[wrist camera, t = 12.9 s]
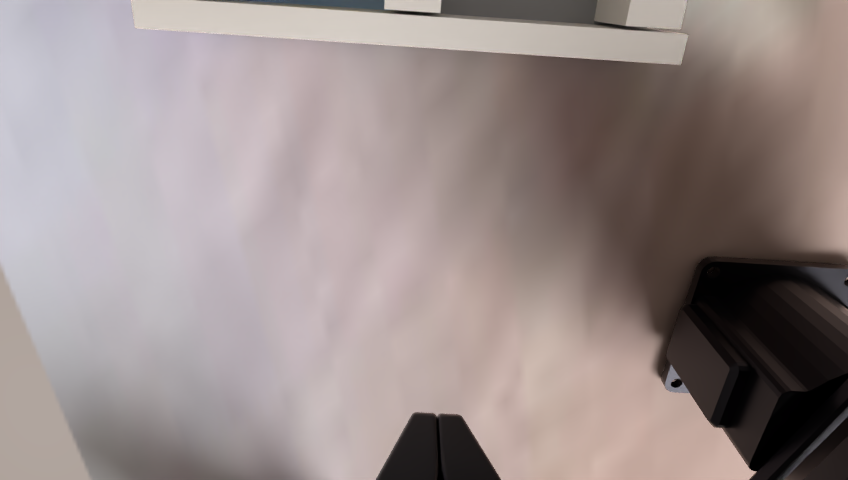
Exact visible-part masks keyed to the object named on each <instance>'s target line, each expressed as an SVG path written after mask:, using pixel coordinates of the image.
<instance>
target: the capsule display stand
mask: <svg viewBox="0 0 848 480" xmlns="http://www.w3.org/2000/svg"><path fill="white" fill-rule="evenodd" d="M687 2H688V0H131V6H132V12H133V19H134V25H135V28H139V29H153V30H168V31H183V32H198V33H213V34H227V35H242V36H257V37H272V38H287V39H301V40H316V41H331V42H346V43H361V44H376V45H390V46H405V47H420V48H435V49H450V50H464V51H479V52H494V53H509V54H524V55H538V56H553V57H568V58H583V59H598V60H612V61H627V62H642V63H657V64H672V65H681V62H682V59H683V55H684V51H685V47H686V43H687V39H688V35H689V34H684V33H677V32H670V31H663V30H657V29H650V28H664V29H678V30H681V26H682V22H683V18H684V14H685V10H686V6H687ZM647 27H649V28H647Z"/></svg>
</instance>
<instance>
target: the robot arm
mask: <svg viewBox="0 0 848 480" xmlns="http://www.w3.org/2000/svg"><path fill="white" fill-rule="evenodd" d="M712 267H715V269H714V271H713V272H711V273H707V272H708V270H709V269H710V268H712ZM847 277H848V265H841V264H824V263H808V262H791V261H775V260H758V259H742V258H725V257H707V258H705V259H702V260H701V261H700V262H699V263H698V265H697V267H696V270H695V273H694V276H693V279H692V282H691V286H690V289H689V292H688V295H687V298H686V301H685V304H684V306H683V307H682V308H681V309H680V312H679V315H678V318H677V321H676V324H675V328H674V331H673V334H672V337H671V340H670V343H669V347H668V350H667V353H666V357H667V361H666V364H665V368H664V371H663V374H662V378H661V380H662V382H663V384H664V386H665V387H666V389H667V390H668V391H671V392H679V393H690V394H691V395H692V397H693V398H694V400H695V402H696V403H697V405H698V406H699V408H700V409H701V411H702V412H703V414H704V415H705V417H706V418H707V420H708V421H709V422H710V423H711V425H712V426H713V427H717V428H722V429H723V430H724V431H725V433H726V434H727V436H728V437H729V439H730V440H731V442H732V443H733V445H734V446H735V448H736V449H737V451H738V452H739V454H740V455H741V457H742V458H743V459H744V461H745V462H746V464H747V465H748V467H749V468H750V469H751V470H753V471H757V472H756V473H755V474H754V475H753V476H752V477H751V478H750V479H749V480H848V279H847V280H846V281H845V279H846V278H847ZM674 379H677V380H676V381H674V382H672V380H674ZM376 480H501V479H500V477H499V476H498V474H497V472H496V471H495V469H494V467H493V466H492V464H491V463H490V461H489V459H488V458H487V456H486V455H485V453H484V451H483V450H482V448H481V446H480V445H479V443H478V442H477V440H476V438H475V437H474V435H473V434H472V432H471V430H470V429H469V427H468V425H467V424H466V422H465V421H464V419H463V418H462V416H460V415H458V414H439V415H438V416H436V415H435V414H434V413H420V412H415V413H413V415H412V416H411V417H410V419H409V421H408V423H407V425H406V426H405V428H404V430H403V432H402V434H401V435H400V437H399V439H398V441H397V443H396V444H395V446H394V448H393V450H392V452H391V453H390V455H389V457H388V459H387V461H386V462H385V464H384V466H383V468H382V469H381V471H380V473H379V475H378V477H377V478H376Z"/></svg>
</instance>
